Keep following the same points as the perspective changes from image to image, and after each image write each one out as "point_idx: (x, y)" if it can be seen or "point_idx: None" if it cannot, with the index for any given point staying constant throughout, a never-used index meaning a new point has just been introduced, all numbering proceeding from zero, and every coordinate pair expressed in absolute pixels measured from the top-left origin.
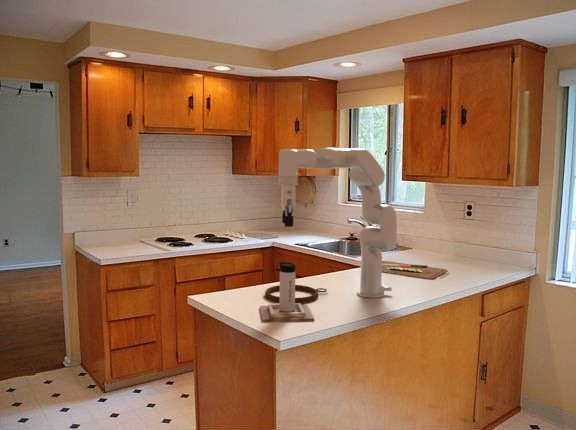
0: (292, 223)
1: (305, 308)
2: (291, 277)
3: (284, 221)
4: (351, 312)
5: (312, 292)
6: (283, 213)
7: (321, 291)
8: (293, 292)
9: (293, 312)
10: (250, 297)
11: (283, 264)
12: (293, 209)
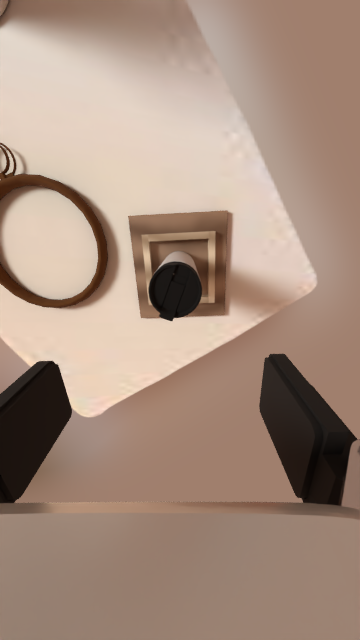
0: (294, 373)
1: (155, 224)
2: (197, 272)
3: (63, 412)
4: (166, 93)
5: (11, 189)
6: (6, 501)
7: (8, 161)
8: (191, 260)
9: (210, 256)
10: (72, 332)
11: (169, 305)
12: (26, 503)
